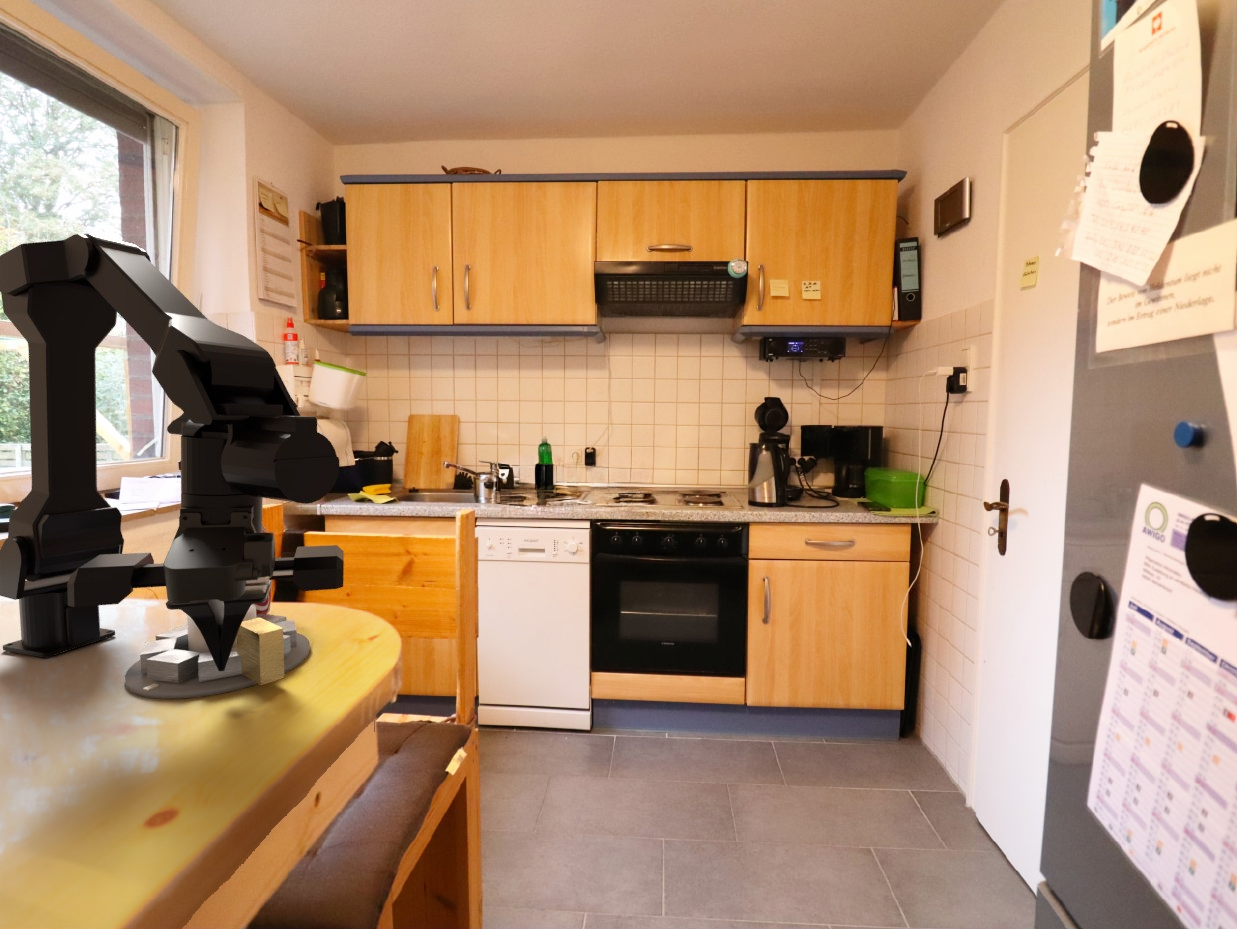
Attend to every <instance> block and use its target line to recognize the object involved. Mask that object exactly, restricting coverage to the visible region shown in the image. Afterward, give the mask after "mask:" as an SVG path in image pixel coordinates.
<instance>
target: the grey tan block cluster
mask: <svg viewBox="0 0 1237 929" xmlns="http://www.w3.org/2000/svg"><path fill="white" fill-rule="evenodd" d="M296 632H297V628H296V624H295V619H290V620H287V616H284V615H274V614H258V615H256V618H255V619H251V620H247V621H244V622H242V624H241V626H240V629H239V632H238V635H237V647H233V648H232V651H231V654H230V656H229V659H228V662H227V665H226V668H225V670H224V671H218V669H217V666H216V664H215V662H214V660H213V658H212V655H211V653H210V651H208V652H202V653H201V652H193V651H189V650H188V625H187V624H184V625H182V626H179V627H176V628H174V629H170V630H168V631H165V632H162V633H160V634H157V635H155V640H150V641H146V642H144V645H143V647H142V650H141V652H140V655H139V657H140V658H139V660H140V662H141V674H144V673H147V679H152V680H159V681H166V682H173V683H180V682H182V681H184V680H187V679H189V678H191V677H193V676H195V675H197V674H199V682H202V681H208V680H213V679H218V678H224V677H229V676H234V675H240V674H242V675H244V676H246V677H247V678H249V679H251V680H252V681H254V682H256V683H257V684H256V685H260V686H263V685H266V684H269V683H272V682H275V681H278V680H281V679H285V673H284V657H285V656H287V655H289V654H291V648H294V647H297V640H296Z"/></svg>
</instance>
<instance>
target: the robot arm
mask: <svg viewBox="0 0 1237 929" xmlns="http://www.w3.org/2000/svg"><path fill="white" fill-rule="evenodd" d="M0 294H1V303H2V310H3V313H4V315H5V316H6V317H7V318H8V320H9V321H10V322H11V323H12V324H13V326H14V327H15V328H16V329H17V331H18V332H19V333H20V334H21V336H22V337H23V338H24V340H25V341H26V342H27V346H28V348H27V350H28V380H29V382H28V383H29V384H28V385H29V387H28V388H29V389H28V390H29V421H30V422H29V423H30V424H29V425H30V426H29V427H30V428H29V429H30V462H31V463H30V466H31V468H30V469H31V470H30V472H31V490H30V492H29V493H28V494H27V495H26V496H25V498H23V500H22V501H21V502H20V504H19V505H18V506H17V507H16V509H14V511H13V512H12V513H11V514H10V516H9V519H8V533H7V538H6V539H5V540H4V542H3V544H2V545H1V547H0V597H3V598H7V599H11V600H14V601H16V600H18V606H19V621H20V623H19V624H20V636H21V637H20V639H19V640H16V641H12V642H9V643H6V644H3V645H2V651H6V652H11V653H17V654H22V655H27V656H33V657H38V658H50V657H53V656H56V655H58V654H62V653H65V652H67V651H71V650H75V649H77V648H80V647H83V646H86V645H89V644H92V643H95V642H100V641H101V640H105V639H108V638H111V637H113V636H116V631H115V630H114V629H109V628H102V627H101V623H100V621H101V620H100V606H106V605H107V606H109V605H110V606H111V605H119V604H120V603H121V602H122V601H124V600H125V599H126V598H127V597H128V596H130V595H131V594H132V593H133V592H134V589H140V588H141V589H144V588H156V587H157V588H159V587H162V588H163V587H165V589H166V597H167V601H166V602H165V606H166V608H167V609H168V610H170V611H171V610H172V611H173V610H180V611H182V612H183V613H185V614H186V615H187V616H190V617H191V619H192V620H193V621H194V623H195V624H196V626H197V627H198V629H199V630H200V632H201V634H202V636H203V638H204V640H205V642H206V644H207V647H208V649H209V651H210V653H211V655H212V658H213V660H214V662H215V664H216V666H217V669H218V671H224V670H225V668H226V665H227V662H228V659H229V656H230V654H231V651H232V648H233V646H234V643H235V640H236V637H237V635H238V632H239V629H240V626H241V624H242V621H243V619H244V617H245V615H246V614H247V612H248V610H249V608H250V606H251V605H252V604H256V603H262V602H264V601H266V599H267V597H268V594H269V591H270V589H271V590H272V585H273V582H272V581H274V580H276V581H277V580H291V579H292V583H293V584H294V585H295V586H296V587H297V588H299V589H300V590H301V591H302V592H310V591H311V592H313V591H325V590H326V591H328V590H338V589H341V588H343V587H344V569H345V568H344V567H345V564H344V563H345V562H344V560H345V559H344V554H345V552H344V550H343V549H342V548H340V546H339V545H334V544H333V545H332V544H331V545H315V546H314V545H313V546H312V545H308V546H306V545H305V546H297V548H296V550H295V554H294V557H276V541H275V534H274V532H268V533H262V525H263V521H262V520H263V499H270V500H275V501H276V500H277V501H284V502H288V503H289V502H291V503H295V504H304V505H305V504H308V505H309V504H313V503H316V502H318V501H320V500H321V499H323V498H325V497H326V496H327V495H328V494H329V493H330V492H331V491H332V489H333V488H334V486H335V485H336V482H337V480H338V477H339V473H340V457H338V455H337V452H336V449H335V447H334V445H333V443H332V442H331V441H330V439H328V438H327V436H325V435H324V434H322V433H320V432H318V419H317V417H316V416H312V415H311V416H310V415H309V416H308V415H301V414H300V412H299V410H298V407H299V406H298V405H297V403H296V402H295V400H293V398H292V396H291V395H290V393H289V390H288V389H287V388H288V387H286V384H285V383H284V380H283V379H282V377H281V375H280V373H279V372H278V369H277V365H276V363H275V360H274V359H273V357H272V355H271V354H270V353H269V351H268V350H266V349H265V348H264V347H262V346H261V345H259V344H257V343H256V342H255V341H253V340H251V339H250V338H248V337H247V336H245V335H243V334H241V333H239V332H235V331H234V330H230V329H229V328H228V329H227V327H223V326H221V325H218V324H216V323H215V322H213V321H212V320H210V319H208V318H207V316H205V314H203V313H202V312H201V311H200V310H199V308H197V307H196V305H195V304H193V302H191V301H190V300H189V299H188V297H186V296H185V295H184V294H183V293H182V291H180V290H179V289H178V288H177V287H176V286H175V285H174V284H173V283H172V281H170V280H169V279H168V278H167V276H165V275H164V274H163V273H162V272H161V271H160V270H159V269H158V268H157V266H155V265H154V264H153V263H152V261H151V257H150V255H149V254H148V252H147V251H146V250H144V249H143V248H140V247H139V246H137V245H136V244H133V243H129V242H126V241H122V240H121V241H120V240H116V239H113V238H109V237H104V236H102V235H101V236H100V235H96V234H94V233H93V234H92V233H83V234H80V233H76V234H73V235H70V236H69V237H66V238H65V239H59V240H49V241H48V240H47V241H40V242H39V241H38V242H25V243H20V244H19V245H17V246H15V247H13V248H11V249H9V250H8V251H6V252H4V253H2V254H0ZM118 314H119V316H120V317H121V318H122V319H123V320H124V321H125V322H126V324H128V326H130V327H131V328H132V329H133V330H134V332H136V334H137V335H139V337H140V338H141V339H142V340H143V341H144V342H145V344H147V345H148V346H149V348H150V350H152V353H153V354H154V355H155V357H154V360H153V361H154V362H153V366H152V368H151V373H152V375H153V376H154V377H155V379H156V381H157V382H158V384H159V385H160V387H161V388H162V390H163V391H164V393H165V395H166V396H167V398H168V399H169V400H170V401H171V403H172V404H174V406H176V407H177V408H178V409H180V410H181V411H182V414H181V415H180V416H178V417H177V418H175V419H173V420H172V421H171V422H170V424H168V426H167V427H166V431H167V433H168V434H171V435H176V436H177V435H179V436H180V508H179V516H178V522H179V523H178V527H177V530H176V531H175V532H176V533H175V535H174V538H173V540H172V542H171V546H170V547H169V550H168V551H167V554H166V556H165V559H164V561H163V563H155V561H154V558H153V555H152V552H137V553H136V552H135V553H134V552H133V553H123V550H124V545H125V539H124V536H123V534H122V530H121V529H122V528H121V527H122V526H121V525H122V518H123V517H122V513H121V511H120V510H119V508H118V507H116V506H114V507H113V506H111V505H110V504H109V503H108V502H107V500H106V499H105V497H104V496H103V495H102V494H101V493H100V492H99V490H98V479H97V478H98V474H97V473H98V471H97V470H98V469H97V467H98V466H97V465H98V464H97V461H98V460H97V459H98V458H97V457H98V456H97V452H98V451H97V388H96V387H97V385H96V384H97V383H96V380H97V379H96V376H97V375H96V374H97V373H96V350H97V348H98V347H99V346H100V344H101V343H102V342H103V341H104V340H105V339H106V337H107V336H108V335H109V333H111V331H112V330H113V329H114V328H115V327H116V325H117V317H118ZM223 601H224V605H223Z"/></svg>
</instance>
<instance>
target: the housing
mask: <svg viewBox="0 0 1237 929" xmlns="http://www.w3.org/2000/svg"><path fill="white" fill-rule="evenodd" d="M223 605H224V604H223ZM255 618H256V606H254V605H251V606H250V608H249V610H248V612H247V614H246V615H245V617H244V619H243V621H242V622H244V621H247V620H251V619H255ZM186 621H187V622H186V625H188V650H189V651H193V652H201V653H202V652H208V651H209V649H208V647H207V644H206V642H205V640H204V638H203V636H202V634H201V632H200V630H199V629H198V627H197V626H196V624H195V623H194V621H193V620H192V619H191V617H190V616H188V615H187V617H186ZM296 640H297V647H294V648H291V654H289V655H287V656H285V657H284V674H286V673H288V672H289V671H291V670H293V669H295V668H297V667H298V666H299V665H301V664H302V663H303V662H304V661H305V660H306V659H307V658H308V656H309V654H310V651H311V650H310V649H311V643H310V640H309V638H308V637H306V635H304V634H302V633H299V632H297V631H296ZM233 647H237V637H236V640H235V643H234V646H233ZM124 680H125V682H124V683H125V687H126V689H127V690H128V691H130V693H132V694H134V695H137V696H140V697H143V698H150V699H158V700H160V699H162V700H178V699H179V700H180V699H193V698H201V697H202V698H203V697H209V696H214V695H220V694H221V695H222V694H225V693H229V692H234V691H238V690H243V689H246V688H249V687H252V686H257V685H258V684H257V683H256V682H254V681H252V680H251V679H249V678H247V677H246V676H244V675H242V674H240V675H234V676H229V677H224V678H218V679H213V680H208V681H202V682H199V674H197V675H195V676H193V677H191V678H189V679H187V680H184V681H182V682H180V683H173V682H166V681H159V680H152V679H147V673H144V674H141V662H140V659H139V660H137V661H135V662H134V663H133V664H132V665H131V666H129V668H128V669H127V670H126V672H125V675H124Z"/></svg>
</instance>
